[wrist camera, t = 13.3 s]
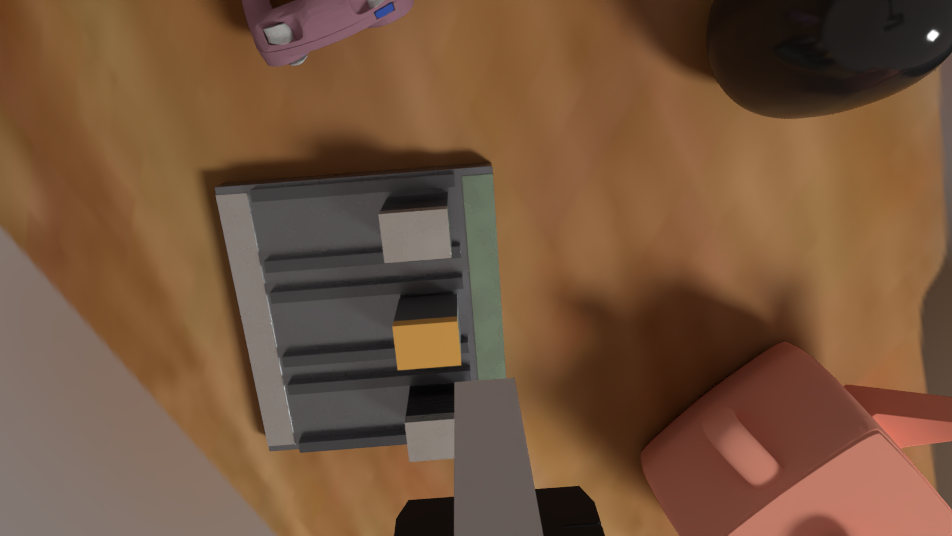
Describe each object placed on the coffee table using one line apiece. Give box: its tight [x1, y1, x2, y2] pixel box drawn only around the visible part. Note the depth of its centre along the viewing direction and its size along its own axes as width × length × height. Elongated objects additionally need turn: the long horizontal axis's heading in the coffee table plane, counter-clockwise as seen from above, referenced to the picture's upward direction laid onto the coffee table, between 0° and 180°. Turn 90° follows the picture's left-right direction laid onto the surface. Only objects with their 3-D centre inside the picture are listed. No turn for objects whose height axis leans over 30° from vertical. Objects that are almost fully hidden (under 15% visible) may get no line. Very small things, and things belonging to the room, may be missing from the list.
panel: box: [215, 163, 506, 462], centre depth 42 cm, size 20×18×6 cm
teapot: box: [641, 342, 952, 536], centre depth 42 cm, size 20×22×14 cm
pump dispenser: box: [706, 0, 952, 119], centre depth 32 cm, size 10×10×15 cm
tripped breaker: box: [392, 294, 461, 370], centre depth 41 cm, size 3×4×5 cm
